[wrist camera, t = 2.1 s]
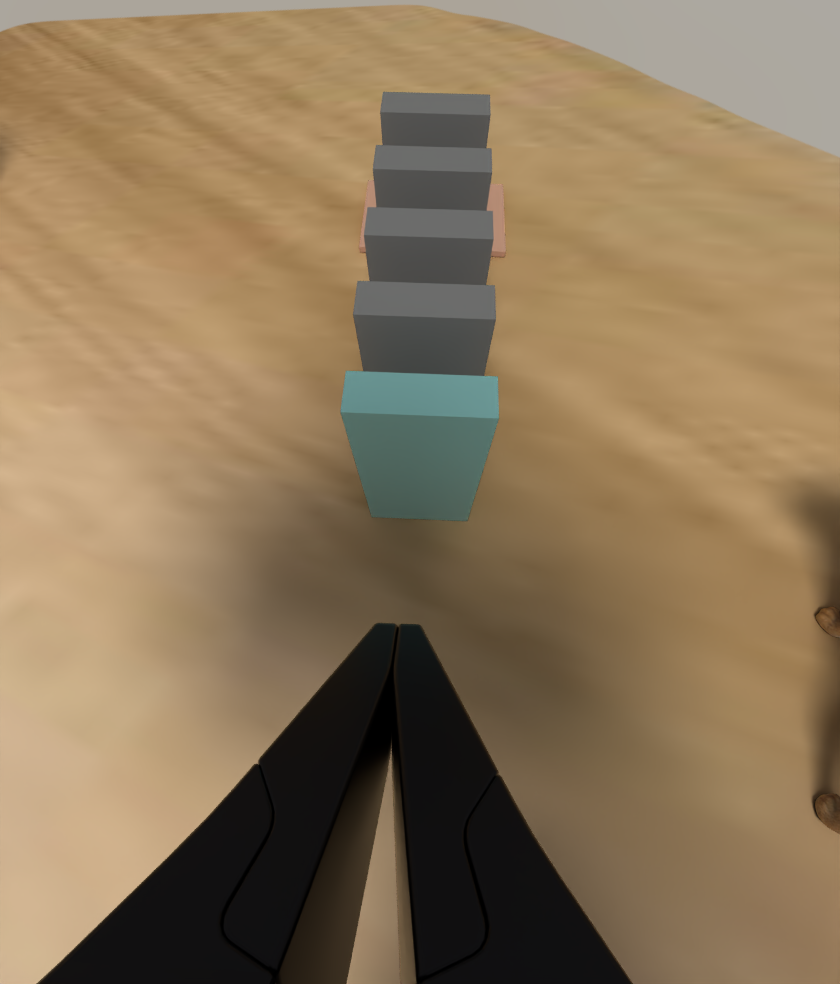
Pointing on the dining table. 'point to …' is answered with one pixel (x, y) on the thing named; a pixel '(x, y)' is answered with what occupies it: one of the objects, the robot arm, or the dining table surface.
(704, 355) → the dining table surface
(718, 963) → the dining table surface
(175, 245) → the dining table surface
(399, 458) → the domino
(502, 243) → the strip
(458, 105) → the domino
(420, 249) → the domino
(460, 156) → the domino
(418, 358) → the domino
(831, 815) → the lion figurine
